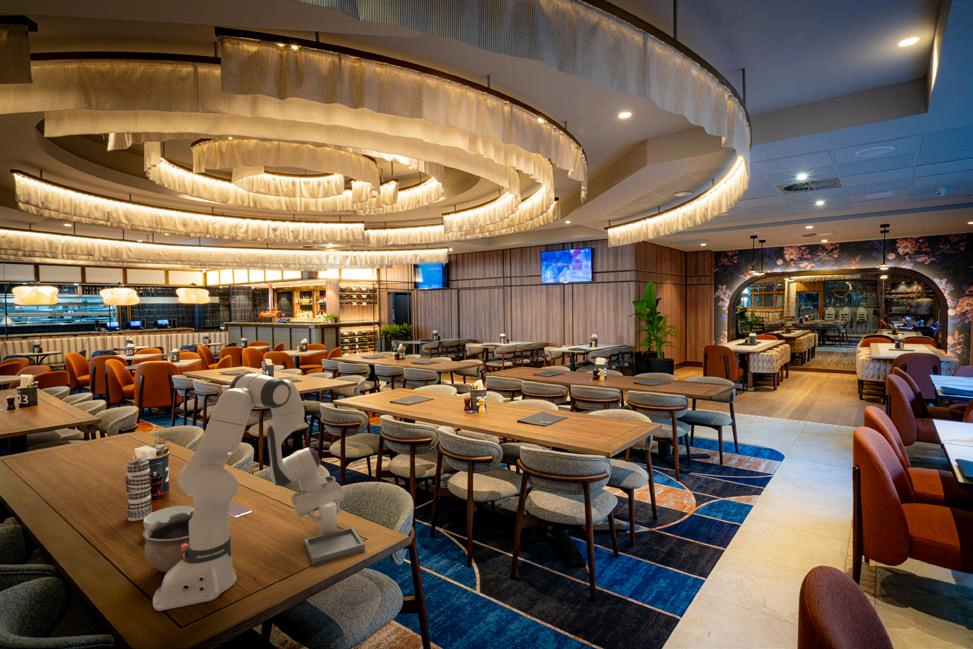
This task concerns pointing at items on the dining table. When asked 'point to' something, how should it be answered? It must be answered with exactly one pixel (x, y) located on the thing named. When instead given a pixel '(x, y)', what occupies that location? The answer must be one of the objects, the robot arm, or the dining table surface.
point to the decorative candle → (138, 489)
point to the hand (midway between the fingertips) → (328, 516)
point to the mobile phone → (238, 510)
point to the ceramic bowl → (166, 541)
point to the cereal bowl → (165, 514)
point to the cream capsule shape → (328, 518)
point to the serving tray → (333, 545)
